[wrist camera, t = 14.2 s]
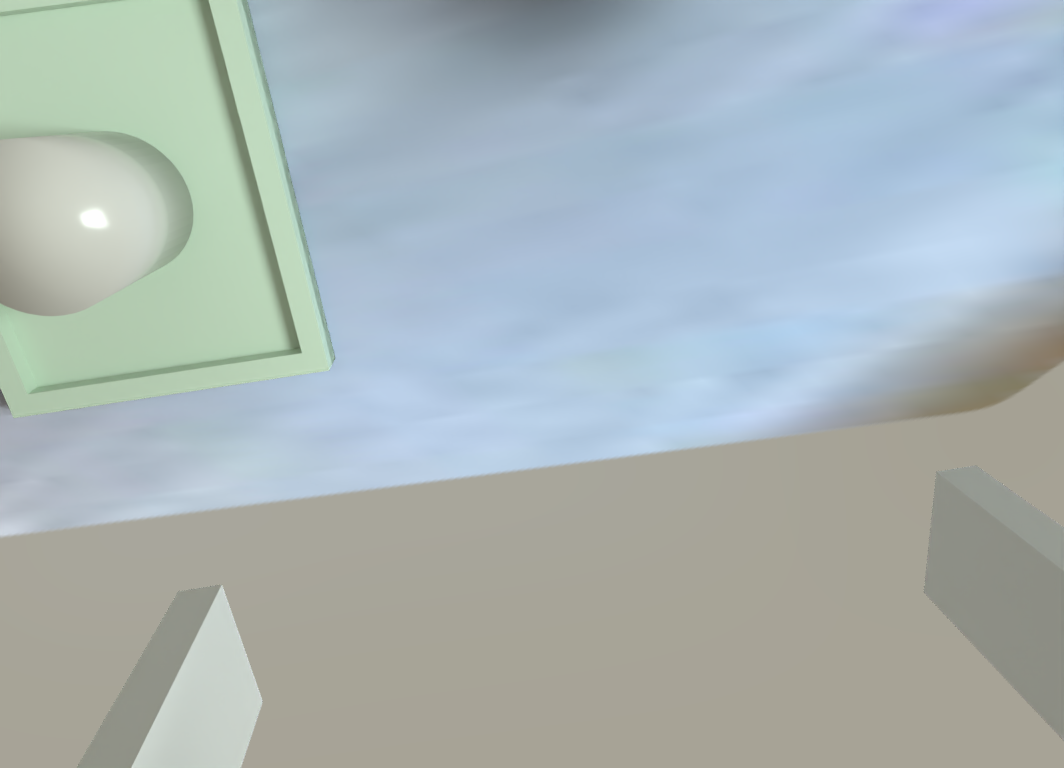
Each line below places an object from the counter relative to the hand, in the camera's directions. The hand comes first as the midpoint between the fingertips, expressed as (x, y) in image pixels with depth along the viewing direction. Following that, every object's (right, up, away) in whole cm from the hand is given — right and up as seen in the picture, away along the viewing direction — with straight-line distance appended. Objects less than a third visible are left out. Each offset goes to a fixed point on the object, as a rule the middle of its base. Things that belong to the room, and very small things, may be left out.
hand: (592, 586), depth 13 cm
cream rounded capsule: (-22, +13, +23) cm, 34 cm away
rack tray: (-22, +13, +24) cm, 35 cm away
